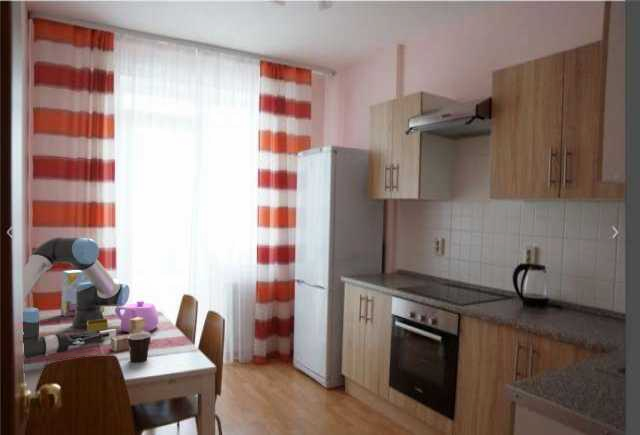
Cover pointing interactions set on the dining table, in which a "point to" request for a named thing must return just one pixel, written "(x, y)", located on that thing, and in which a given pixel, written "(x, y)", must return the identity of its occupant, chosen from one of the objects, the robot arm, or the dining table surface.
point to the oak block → (136, 325)
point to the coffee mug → (138, 347)
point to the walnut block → (123, 341)
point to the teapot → (138, 315)
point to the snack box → (71, 291)
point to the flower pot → (97, 325)
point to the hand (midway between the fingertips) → (115, 332)
